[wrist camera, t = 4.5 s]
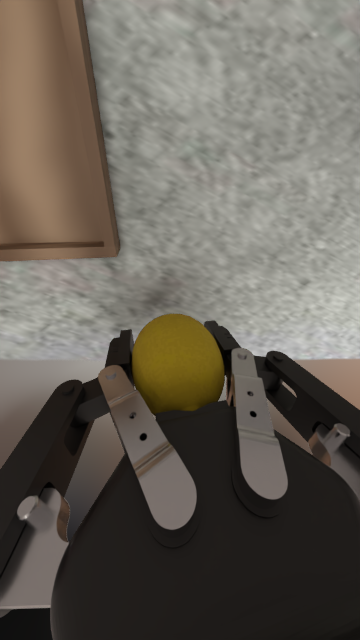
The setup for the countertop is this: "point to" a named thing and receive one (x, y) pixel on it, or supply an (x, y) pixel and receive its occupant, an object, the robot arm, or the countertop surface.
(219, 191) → the countertop surface
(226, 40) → the countertop surface
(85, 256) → the tray
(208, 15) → the countertop surface
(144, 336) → the lemon
